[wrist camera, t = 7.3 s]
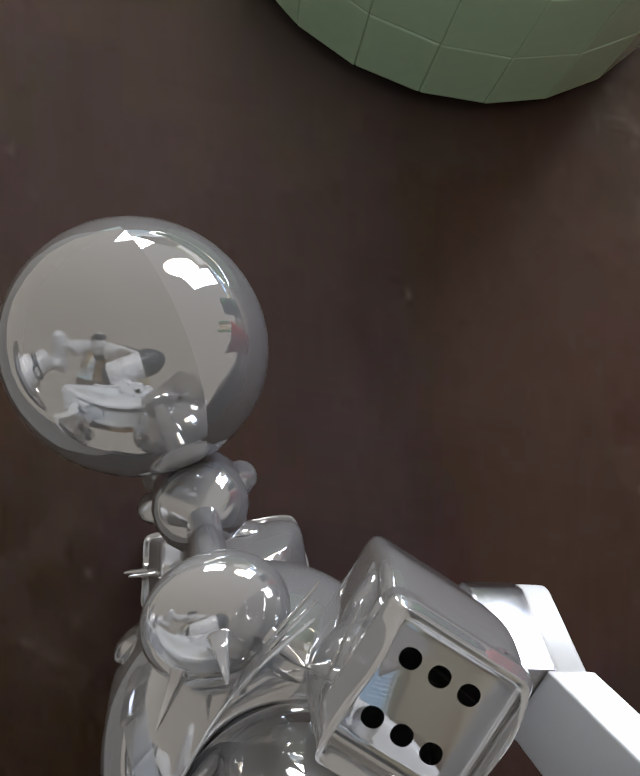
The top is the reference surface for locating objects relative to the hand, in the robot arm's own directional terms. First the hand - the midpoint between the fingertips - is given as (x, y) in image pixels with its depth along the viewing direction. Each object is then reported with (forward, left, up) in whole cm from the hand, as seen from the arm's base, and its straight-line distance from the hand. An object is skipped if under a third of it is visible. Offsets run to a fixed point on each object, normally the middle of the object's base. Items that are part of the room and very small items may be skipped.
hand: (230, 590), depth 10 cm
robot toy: (0, 0, -9) cm, 9 cm away
